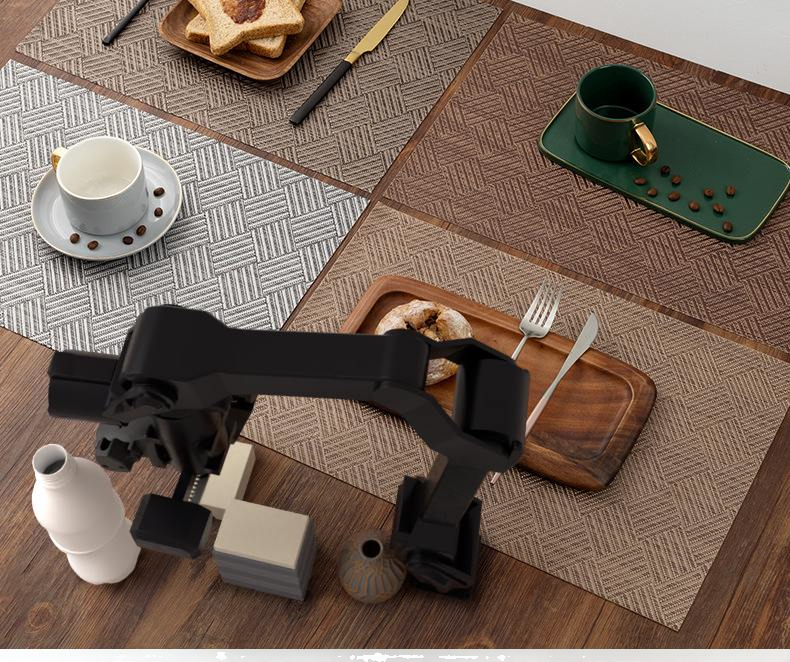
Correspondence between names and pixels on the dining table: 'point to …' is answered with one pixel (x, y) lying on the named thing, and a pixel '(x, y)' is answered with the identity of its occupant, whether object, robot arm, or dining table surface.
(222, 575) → the grey stack
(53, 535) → the water bottle
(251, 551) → the beige flat block
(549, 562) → the dining table surface
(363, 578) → the vase
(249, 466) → the beige rectangular block
